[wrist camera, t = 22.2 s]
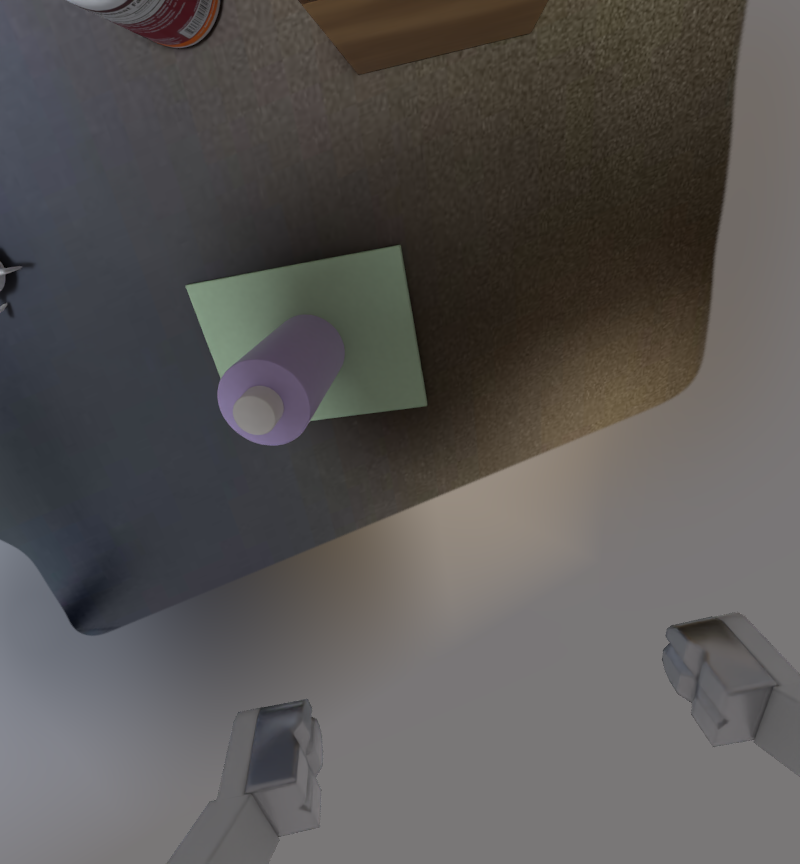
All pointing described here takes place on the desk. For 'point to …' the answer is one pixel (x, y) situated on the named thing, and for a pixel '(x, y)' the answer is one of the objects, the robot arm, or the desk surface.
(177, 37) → the pill bottle
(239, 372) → the lotion bottle
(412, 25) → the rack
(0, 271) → the rocket toy
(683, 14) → the desk surface
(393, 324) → the mat
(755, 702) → the robot arm
